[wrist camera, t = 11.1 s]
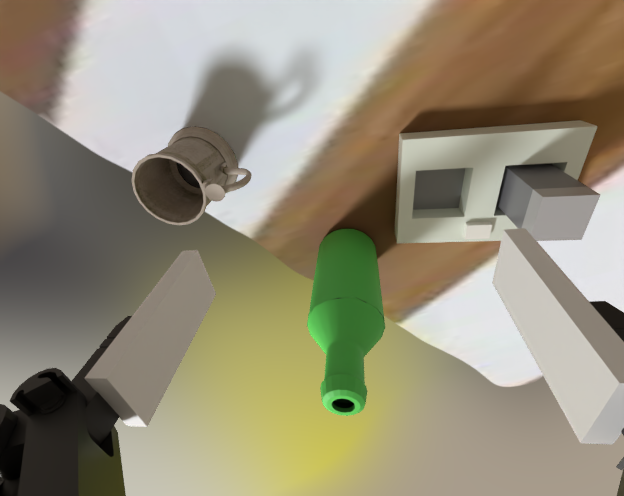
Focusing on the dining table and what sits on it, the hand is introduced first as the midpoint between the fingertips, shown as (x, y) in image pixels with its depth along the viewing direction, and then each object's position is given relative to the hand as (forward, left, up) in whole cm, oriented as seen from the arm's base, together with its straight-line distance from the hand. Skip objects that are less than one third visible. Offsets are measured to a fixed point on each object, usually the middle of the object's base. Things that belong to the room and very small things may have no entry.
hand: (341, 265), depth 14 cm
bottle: (+19, -1, -30) cm, 35 cm away
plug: (+9, +21, -29) cm, 37 cm away
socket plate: (+9, +16, -30) cm, 35 cm away
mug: (+4, -18, -30) cm, 35 cm away
